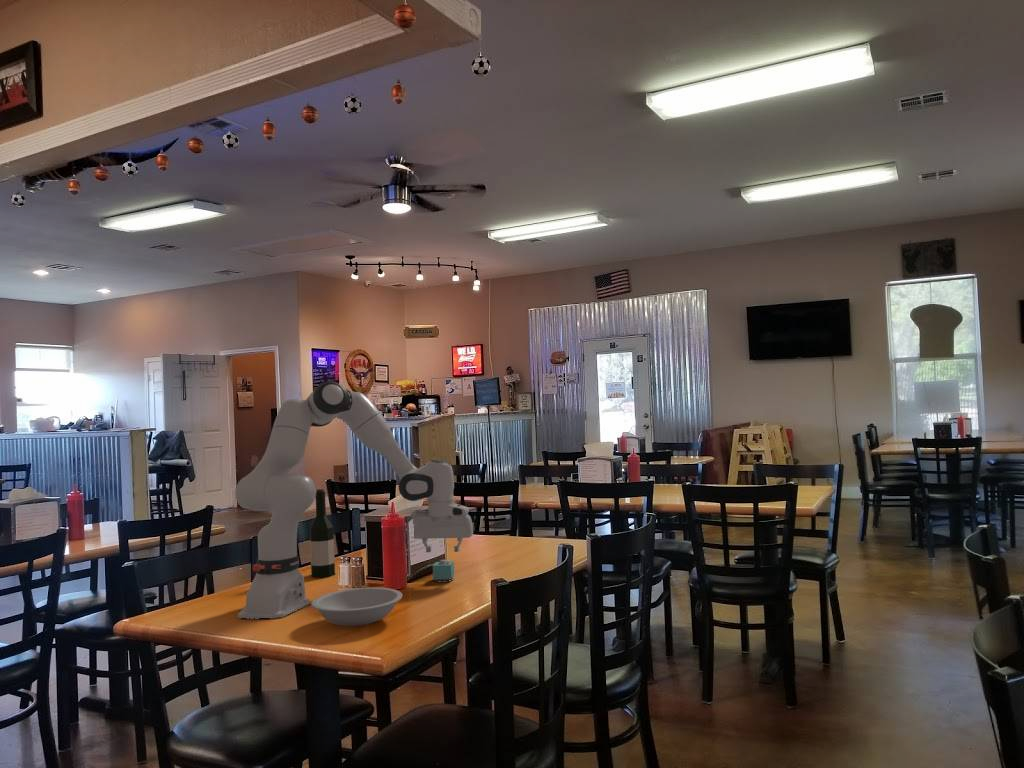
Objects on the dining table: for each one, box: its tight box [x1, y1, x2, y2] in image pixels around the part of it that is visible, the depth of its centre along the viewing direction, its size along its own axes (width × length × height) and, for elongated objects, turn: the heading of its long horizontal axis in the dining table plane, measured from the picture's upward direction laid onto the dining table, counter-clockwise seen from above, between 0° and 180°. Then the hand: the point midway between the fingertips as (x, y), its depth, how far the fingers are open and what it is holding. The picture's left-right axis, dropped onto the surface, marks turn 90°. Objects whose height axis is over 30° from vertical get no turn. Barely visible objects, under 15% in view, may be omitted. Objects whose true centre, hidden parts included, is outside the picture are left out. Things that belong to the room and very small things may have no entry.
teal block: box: [432, 561, 455, 581], centre depth 248 cm, size 6×6×4 cm
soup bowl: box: [310, 587, 403, 627], centre depth 202 cm, size 24×24×7 cm
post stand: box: [434, 559, 454, 583], centre depth 248 cm, size 6×6×6 cm
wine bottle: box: [309, 488, 336, 579], centre depth 264 cm, size 8×8×30 cm
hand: (442, 551), depth 247 cm, fingers open, 8 cm apart
